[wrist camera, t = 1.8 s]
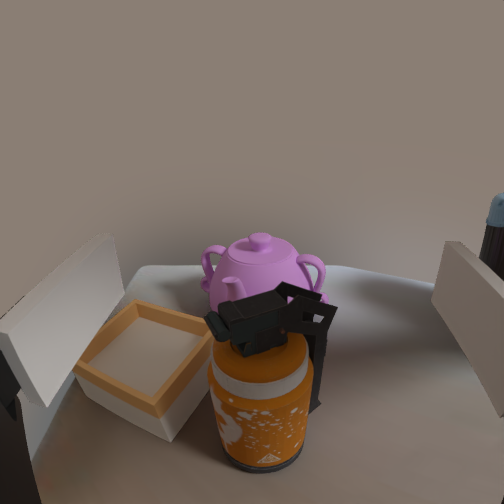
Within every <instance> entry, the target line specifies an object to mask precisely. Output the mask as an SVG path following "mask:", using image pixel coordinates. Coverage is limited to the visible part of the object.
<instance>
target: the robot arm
mask: <svg viewBox="0 0 504 504" xmlns="http://www.w3.org/2000/svg"><path fill="white" fill-rule="evenodd" d="M486 223H487V226H486V231H485V236H484V240H483V244H482V248H481V252H480V255H479V258H478V257H477V256H476V255H475V254H474V253H472V252H471V251H470V250H469V249H468V248H467V247H465V245H463V244H462V243H461V242H454V241H445V245H444V250H443V254H442V259H441V263H440V267H439V271H438V275H437V279H436V283H435V287H434V290H433V294H432V298H431V302H432V304H433V305H434V307H435V308H436V310H437V311H438V313H439V314H440V316H441V317H442V319H443V320H444V322H445V323H446V325H447V326H448V328H449V330H450V331H451V333H452V334H453V336H454V337H455V339H456V341H457V342H458V344H459V346H460V347H461V349H462V350H463V352H464V354H465V355H466V357H467V359H468V361H469V362H470V364H471V366H472V367H473V369H474V371H475V373H476V374H477V376H478V378H479V380H480V381H481V383H482V385H483V387H484V389H485V391H486V392H487V394H488V396H489V398H490V400H491V402H492V404H493V406H494V408H495V410H496V411H497V413H498V415H499V417H500V418H501V417H504V193H501V194H498V195H496V196H495V197H494V198H493V200H492V202H491V206H490V211H489V215H488V218H487V219H486ZM124 294H125V293H124V288H123V283H122V279H121V274H120V269H119V264H118V259H117V253H116V247H115V242H114V236H113V234H97V235H95V236H94V237H93V238H92V239H90V240H89V241H88V242H87V243H86V244H84V245H83V246H82V247H81V248H79V249H78V250H77V251H76V252H74V253H73V254H72V255H71V256H70V257H68V258H67V259H66V260H65V261H64V262H63V263H61V264H60V265H59V266H58V267H57V268H56V269H54V270H53V271H52V272H51V273H50V274H49V275H47V277H45V278H44V279H43V280H42V281H41V282H40V283H38V284H37V285H36V286H35V287H34V288H33V289H32V290H31V291H30V292H29V293H28V294H26V295H25V296H23V297H22V298H21V299H20V300H19V301H18V302H17V303H16V304H15V306H13V307H12V308H11V309H10V310H9V311H8V312H7V313H6V314H4V315H3V316H2V317H1V318H0V504H42V503H41V500H40V496H39V493H38V489H37V485H36V482H35V478H34V474H33V470H32V465H31V461H30V456H29V452H28V446H27V442H26V436H25V430H24V424H23V417H22V409H21V403H20V400H19V399H18V397H17V393H18V392H19V390H20V389H22V390H23V392H24V394H25V395H26V397H27V399H28V400H29V401H30V402H32V403H35V404H37V405H40V406H43V407H46V408H48V406H49V404H50V403H51V401H52V399H53V398H54V396H55V395H56V393H57V392H58V390H59V388H60V387H61V385H62V384H63V382H64V381H65V379H66V378H67V376H68V374H69V373H70V371H71V370H72V368H73V367H74V365H75V364H76V362H77V361H78V359H79V358H80V356H81V355H82V354H83V352H84V351H85V349H86V348H87V346H88V345H89V343H90V342H91V340H92V339H93V338H94V336H95V335H96V333H97V332H98V330H99V329H100V328H101V326H102V325H103V323H104V322H105V321H106V319H107V318H108V316H109V315H110V314H111V312H112V311H113V309H114V308H115V307H116V305H117V304H118V303H119V301H120V300H121V298H122V297H123V296H124ZM501 504H504V497H503V500H502V503H501Z"/></svg>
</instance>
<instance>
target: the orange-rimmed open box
mask: <svg viewBox="0 0 504 504" xmlns="http://www.w3.org/2000/svg"><path fill="white" fill-rule="evenodd" d="M214 339H215V338H214V336H213V334H212V333H211V331H210V329H209V328H208V326H207V324H206V322H205V320H204V319H203V318H199V317H196V316H192V315H188V314H185V313H181V312H178V311H174V310H171V309H167V308H164V307H160V306H157V305H154V304H150V303H147V302H144V301H140V300H137V299H134V300H133V301H132V302H131V303H130V304H128V305H127V306H126V307H125V308H123V309H122V310H121V311H120V312H119V313H117V314H116V315H115V316H114V317H113V318H111V319H110V320H109V321H108V322H107V323H105V324H104V325H103V326H102V327H101V328H100V329H99V330H98V332H97V333H96V335H95V336H94V338H93V339H92V340H91V342H90V343H89V345H88V346H87V348H86V349H85V351H84V352H83V354H82V355H81V356H80V358H79V359H78V361H77V362H76V364H75V365H74V367H73V368H72V371H73V373H74V375H75V377H76V378H77V380H78V382H79V384H80V386H81V388H82V389H83V391H84V393H85V395H86V396H87V397H88V398H90V399H92V400H93V401H95V402H96V403H98V404H100V405H101V406H103V407H105V408H106V409H108V410H110V411H111V412H113V413H115V414H116V415H118V416H120V417H122V418H123V419H125V420H127V421H129V422H131V423H132V424H134V425H136V426H138V427H140V428H142V429H144V430H146V431H148V432H150V433H152V434H153V435H155V436H157V437H160V438H162V439H164V440H166V441H168V442H170V443H171V442H172V440H173V439H174V438H175V436H176V435H177V433H178V432H179V431H180V429H181V428H182V427H183V425H184V424H185V423H186V421H187V420H188V418H189V417H190V416H191V414H192V413H193V412H194V410H195V409H196V407H197V406H198V405H199V403H200V402H201V400H202V399H203V398H204V396H205V395H206V393H207V392H208V391H209V389H210V388H209V383H208V378H207V369H208V366H209V363H210V361H211V355H210V350H211V346H212V343H213V341H214Z"/></svg>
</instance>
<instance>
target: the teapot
mask: <svg viewBox="0 0 504 504" xmlns="http://www.w3.org/2000/svg"><path fill="white" fill-rule="evenodd" d="M210 253H216V254H219V255H221V256H222V258H221V260H220V261H219V263H218V265H217V267H216V269H215V271H213V268H212V265H211V262H210V257H209V254H210ZM201 263H202V267H203V270H204V272H205V275H206V276H205V277H204V278H202V280H201V287H202V289H203V290H204V291H205V292H207V293H209V300H210V306H211V309H212V311H215V312H217V313H218V307H217V306H218V304H219V303H222V302H225V301H229V300H230V301H236V300H239V299H243V298H246V297H250V296H253V295H256V294H260V293H263V292H267V291H270V290H273V289H275V288H276V287H277V286H278V285H279V284H280V283H281V282H282V281H284V282H286V283H289V284H292V285H295V286H298V287H301V288H304V289H307V290H310V291H314V292H317V293H319V291H320V289H321V287H322V284H323V282H324V279H325V274H326V269H325V265H324V263H323V262H322V261H321V260H320V259H319V258H318V257H316V256H314V255H310V254H303V255H299V254H298V252H297V251H296V250H295V248H294V247H293V246H292V245H291V244H290V243H288V242H287V241H285V240H283V239H280V238H276V237H271V235H270V234H267V233H261V232H260V233H254V234H251V235H249V236H248V238H244V239H241V240H238V241H236V242H234V243H233V244H232V245H230V246H229V247H228V249H227V248H225V247H223V246H220V245H213V246H210V247H208V248H207V249H205V250H204V251H203V253H202V255H201ZM305 263H309V264H312V265H313V266H315V267H316V268H317V270H318V278H317V281H316V284H315V286H314V289H313V283H312V279H311V276H310V273H309V271H308V268H307V267H306V265H305ZM207 281H208V282H209V283H208V282H207ZM320 294H322V297H321V299H322V301H320V302H323V303H326V304H328V302H329V299H328V296H327V295H326V294H325V293H320ZM292 299H293V298H292V297H289V296H288V303H289V302H290V301H291V300H292Z"/></svg>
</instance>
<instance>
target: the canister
mask: <svg viewBox="0 0 504 504" xmlns="http://www.w3.org/2000/svg"><path fill="white" fill-rule="evenodd" d="M288 296H289V297H292V298H293V299H292V300H291V301H290V302H289V303H288ZM321 297H322V294H320V293H317V292H314V291H310V290H307V289H304V288H301V287H298V286H295V285H292V284H289V283H286V282H284V281H282V282H281V283H280V284H279V285H278V286H277V287H276V288H275V289H273V290H270V291H267V292H263V293H260V294H256V295H253V296H250V297H246V298H243V299H239V300H236V301H230V300H229V301H225V302H222V303H219V304H218V306H217V307H218V313H217V312H215V311H211V312H209V313H208V314H207V316H204V320H205V322H206V324H207V326H208V328H209V329H210V331H211V333H212V334H213V336H214V338H215V339H214V341H213V343H212V346H211V350H210V355H211V361H210V363H209V366H208V369H207V378H208V383H209V388H210V393H211V398H212V402H213V407H214V411H215V416H216V420H217V425H218V429H219V433H220V438H221V442H222V446H223V450H224V452H225V454H226V456H227V457H228V459H229V460H230V461H231V462H232V463H233V464H235V465H236V466H237V467H239V468H241V469H243V470H246V471H248V472H253V473H271V472H276V471H279V470H281V469H284V468H285V467H287V466H289V465H290V464H291V463H293V462H294V461H295V460H296V459H297V457H298V456H299V454H300V453H301V450H302V448H303V443H304V437H305V431H306V425H307V418H308V415H309V414H310V413H311V412H312V411H313V410H314V409H316V408H317V407H318V406H319V405H320V404H321V403H320V401H319V400H318V395H319V389H320V382H321V376H322V369H323V362H324V356H325V353H326V346H327V332H328V329H329V327H330V324H331V322H332V320H333V317H334V315H335V313H336V310H337V308H338V307H336V306H333V305H329V304H326V303H323V302H320V300H321ZM314 314H317V315H320V316H324V318H323V320H322V321H321V322H320V323H318V322H313V317H314Z"/></svg>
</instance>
